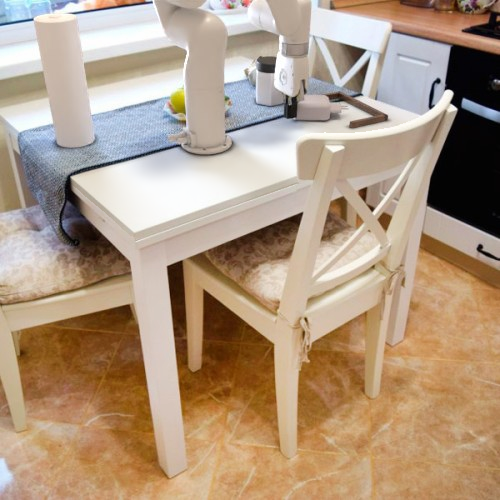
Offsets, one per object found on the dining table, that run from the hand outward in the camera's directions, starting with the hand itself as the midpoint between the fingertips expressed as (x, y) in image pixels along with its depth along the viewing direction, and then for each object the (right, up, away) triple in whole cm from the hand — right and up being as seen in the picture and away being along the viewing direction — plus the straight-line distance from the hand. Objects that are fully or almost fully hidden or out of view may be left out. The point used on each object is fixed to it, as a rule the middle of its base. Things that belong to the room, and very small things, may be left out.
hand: (290, 117), depth 159 cm
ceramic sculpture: (-8, +17, +29) cm, 34 cm away
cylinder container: (-55, -8, -10) cm, 57 cm away
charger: (+9, +1, +5) cm, 10 cm away
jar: (-5, +8, +15) cm, 17 cm away
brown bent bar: (+16, +4, +8) cm, 19 cm away
